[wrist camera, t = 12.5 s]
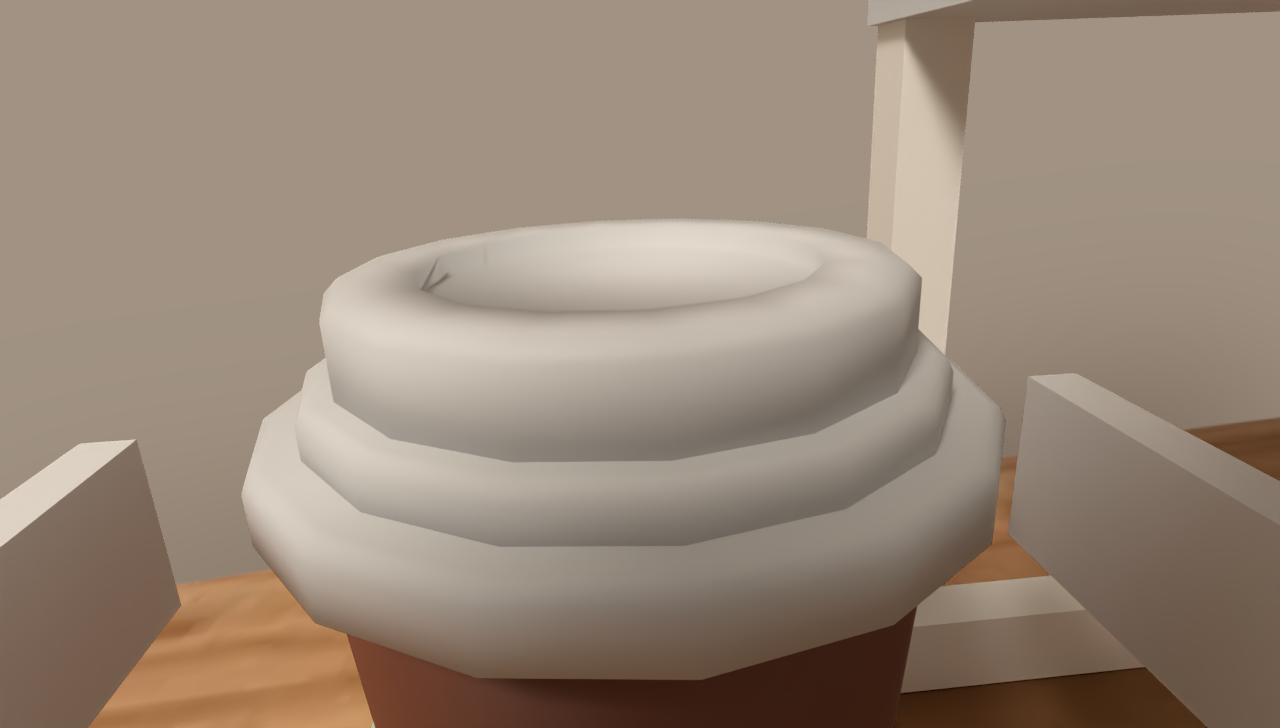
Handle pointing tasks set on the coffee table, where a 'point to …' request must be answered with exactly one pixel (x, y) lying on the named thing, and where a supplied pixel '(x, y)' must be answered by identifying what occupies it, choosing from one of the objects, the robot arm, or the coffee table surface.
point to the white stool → (925, 238)
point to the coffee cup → (627, 477)
